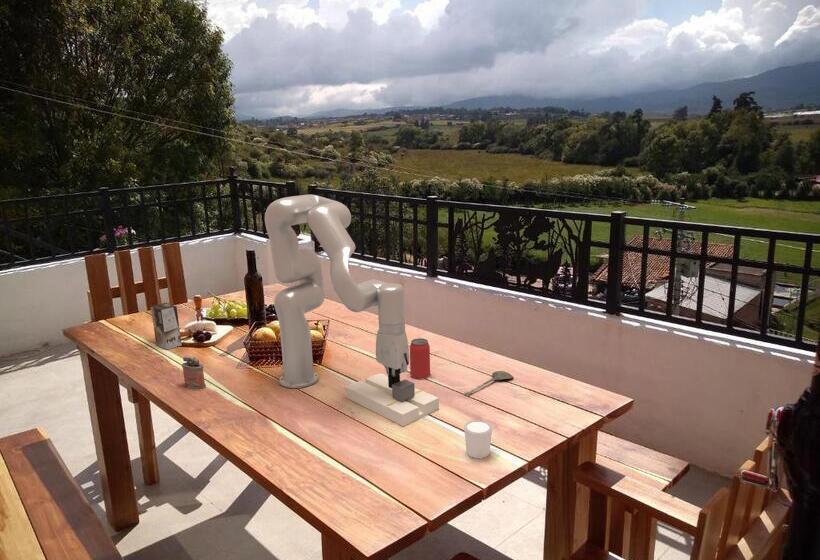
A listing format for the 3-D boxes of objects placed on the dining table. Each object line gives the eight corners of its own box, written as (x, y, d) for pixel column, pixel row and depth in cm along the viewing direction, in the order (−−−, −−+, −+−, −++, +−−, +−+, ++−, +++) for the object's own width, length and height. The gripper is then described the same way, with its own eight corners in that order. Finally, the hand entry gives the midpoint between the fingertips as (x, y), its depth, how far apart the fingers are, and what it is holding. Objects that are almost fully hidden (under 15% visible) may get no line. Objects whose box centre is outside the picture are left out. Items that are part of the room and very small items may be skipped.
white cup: (461, 446, 143) (461, 420, 141) (488, 444, 143) (488, 419, 141) (466, 461, 136) (466, 434, 134) (494, 459, 136) (495, 432, 135)
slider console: (345, 397, 172) (344, 386, 171) (380, 383, 181) (380, 372, 180) (403, 426, 153) (402, 414, 152) (438, 409, 163) (438, 397, 162)
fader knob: (392, 405, 162) (392, 384, 161) (405, 399, 166) (404, 379, 164) (402, 409, 160) (401, 388, 158) (414, 404, 163) (414, 383, 161)
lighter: (208, 386, 182) (204, 357, 180) (200, 390, 179) (196, 361, 177) (189, 382, 186) (186, 354, 183) (181, 386, 183) (178, 357, 180)
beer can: (428, 380, 182) (427, 345, 179) (408, 379, 184) (407, 344, 181) (431, 372, 189) (431, 338, 186) (412, 371, 190) (411, 337, 187)
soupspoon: (517, 380, 183) (501, 375, 188) (518, 370, 182) (501, 366, 187) (474, 400, 168) (457, 394, 173) (474, 389, 167) (457, 384, 172)
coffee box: (182, 345, 221) (177, 305, 217) (166, 350, 216) (160, 309, 212) (171, 340, 226) (166, 302, 223) (155, 345, 222) (150, 305, 218)
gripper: (365, 324, 163) (368, 383, 167) (400, 336, 152) (402, 398, 157) (384, 318, 168) (387, 376, 172) (419, 329, 157) (421, 390, 162)
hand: (394, 386), depth 165 cm, fingers closed
